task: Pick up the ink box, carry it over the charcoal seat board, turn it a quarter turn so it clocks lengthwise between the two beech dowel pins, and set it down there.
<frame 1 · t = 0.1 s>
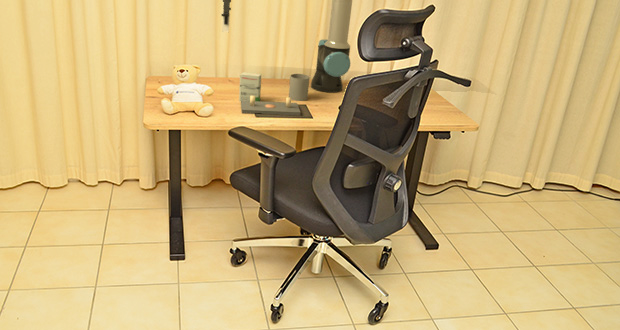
hand: (225, 28, 258), 28 cm above the table, fingers open, 13 cm apart
cup: (297, 98, 271), on the table
ink box: (249, 101, 261), on the table
seat board: (270, 109, 252), on the table
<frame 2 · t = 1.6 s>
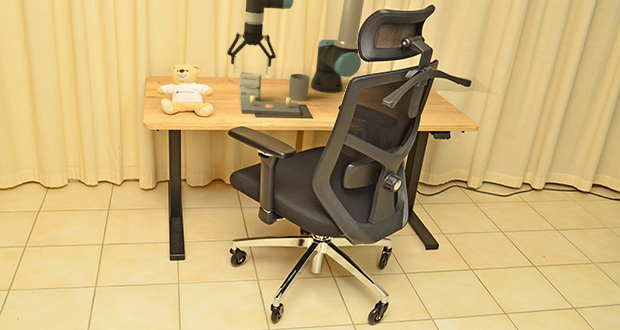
hand: (250, 72, 255), 12 cm above the table, fingers open, 13 cm apart
nothing on the table moved.
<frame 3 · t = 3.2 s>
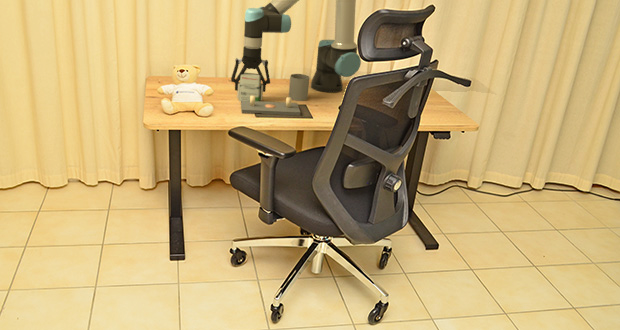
hand: (249, 98, 260), 1 cm above the table, fingers closed on ink box, 9 cm apart
ink box: (249, 101, 261), on the table, touching gripper
everything else where it was.
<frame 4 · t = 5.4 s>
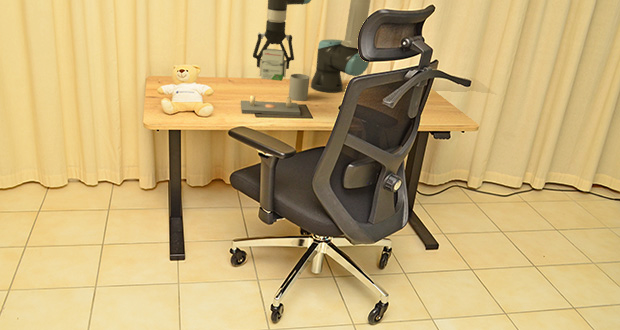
hand: (272, 75, 246), 15 cm above the table, fingers closed on ink box, 9 cm apart
ink box: (272, 78, 247), point 13 cm above the table, touching gripper
everything else where it was.
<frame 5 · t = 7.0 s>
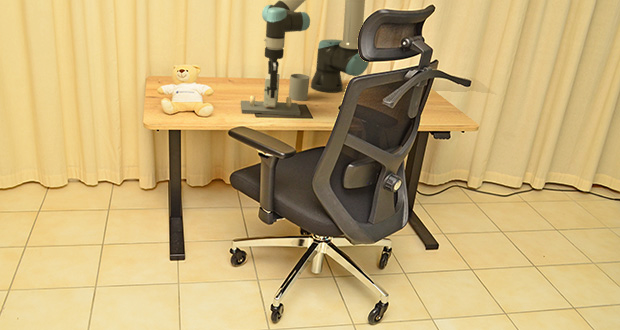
hand: (270, 101, 250), 4 cm above the table, fingers closed on ink box, 9 cm apart
ink box: (270, 104, 251), point 2 cm above the table, touching gripper
everything else where it was.
when the fingers open (3 cm above the table, at t = 8.0 s): ink box stays where it is, resting on seat board.
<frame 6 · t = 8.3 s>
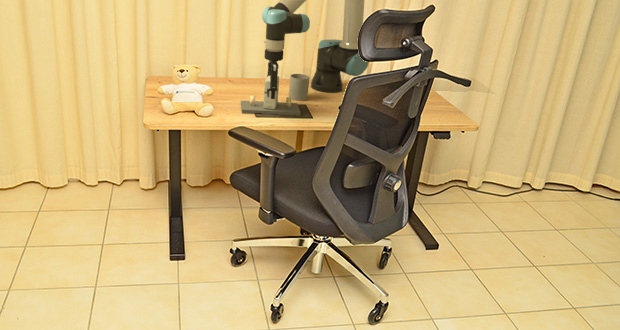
hand: (270, 101, 250), 4 cm above the table, fingers open, 12 cm apart
ink box: (270, 106, 251), point 2 cm above the table, touching seat board
everything else where it was.
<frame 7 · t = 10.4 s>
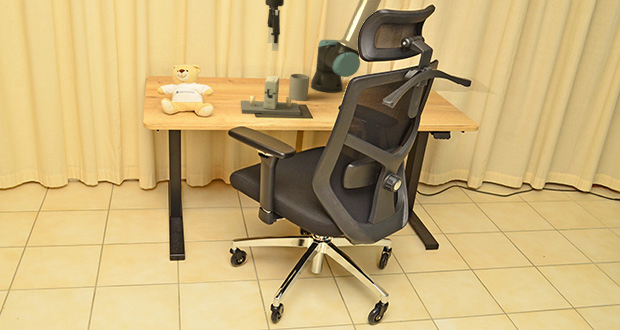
hand: (272, 46, 256), 23 cm above the table, fingers open, 13 cm apart
nothing on the table moved.
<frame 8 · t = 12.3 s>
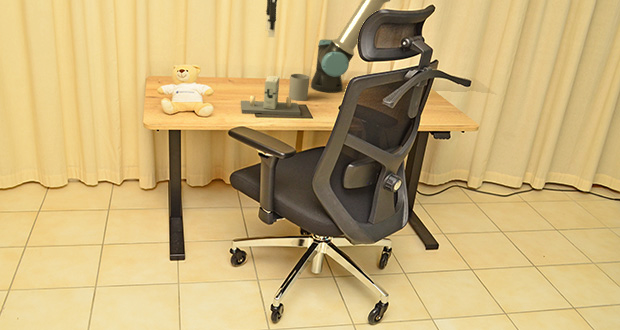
hand: (269, 33, 263), 27 cm above the table, fingers open, 13 cm apart
nothing on the table moved.
at the end: ink box inside the target area on the seat board (0.1 cm from its centre), point 1.5 cm above the seat board's base; ink box tilted 0°; the gripper is holding nothing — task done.
